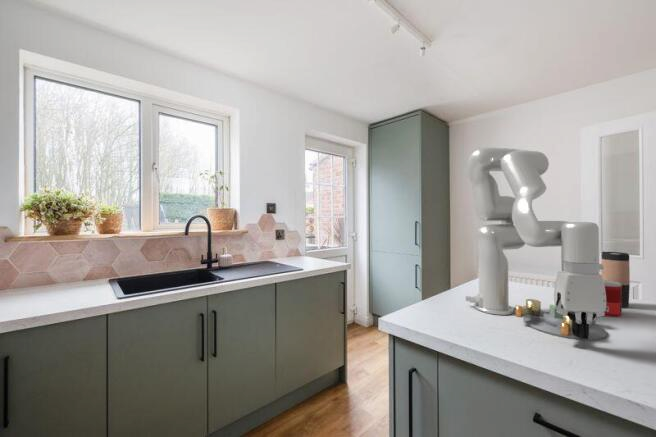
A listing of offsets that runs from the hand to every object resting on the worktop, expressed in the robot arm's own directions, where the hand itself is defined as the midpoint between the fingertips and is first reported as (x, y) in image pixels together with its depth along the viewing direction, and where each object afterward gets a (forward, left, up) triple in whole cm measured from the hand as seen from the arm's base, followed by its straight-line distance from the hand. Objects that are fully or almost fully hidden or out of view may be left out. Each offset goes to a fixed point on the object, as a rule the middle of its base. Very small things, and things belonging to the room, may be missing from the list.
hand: (580, 336), depth 76 cm
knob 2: (-1, +4, 0) cm, 4 cm away
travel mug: (+28, +46, -3) cm, 54 cm away
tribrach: (+1, +15, -3) cm, 15 cm away
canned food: (+20, +34, -3) cm, 39 cm away
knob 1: (-8, +16, 0) cm, 18 cm away
